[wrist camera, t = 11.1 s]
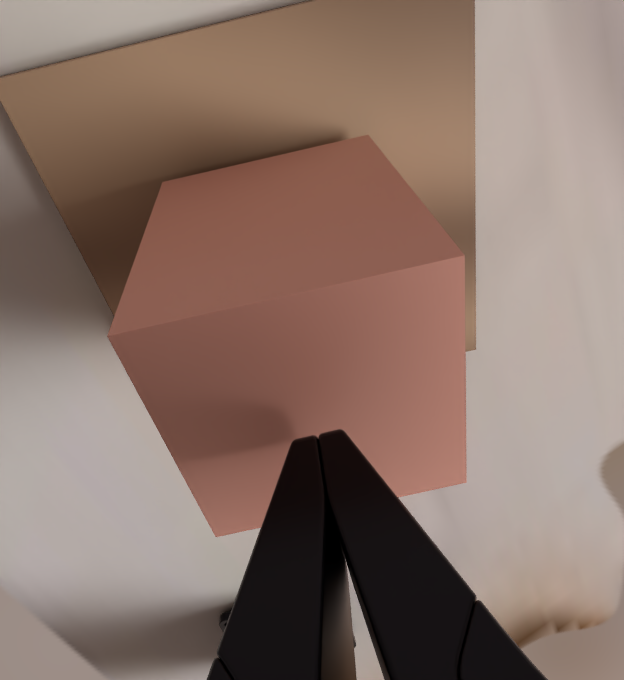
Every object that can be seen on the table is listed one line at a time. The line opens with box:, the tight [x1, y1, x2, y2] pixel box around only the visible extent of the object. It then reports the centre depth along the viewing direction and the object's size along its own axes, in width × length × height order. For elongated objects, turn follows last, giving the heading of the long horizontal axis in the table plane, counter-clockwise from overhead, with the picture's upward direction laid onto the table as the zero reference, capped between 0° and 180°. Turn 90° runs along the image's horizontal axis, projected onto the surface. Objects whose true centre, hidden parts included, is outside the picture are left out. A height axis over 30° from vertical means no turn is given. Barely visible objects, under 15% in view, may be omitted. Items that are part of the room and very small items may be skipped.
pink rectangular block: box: [107, 135, 466, 537], centre depth 11 cm, size 5×5×7 cm
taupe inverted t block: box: [0, 0, 476, 352], centre depth 12 cm, size 11×11×7 cm
